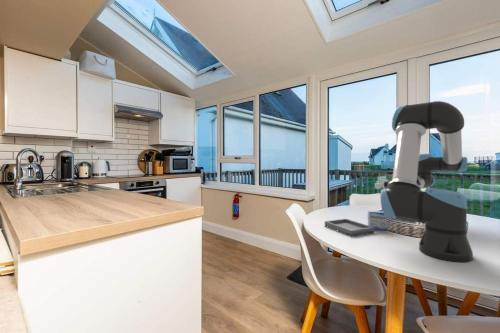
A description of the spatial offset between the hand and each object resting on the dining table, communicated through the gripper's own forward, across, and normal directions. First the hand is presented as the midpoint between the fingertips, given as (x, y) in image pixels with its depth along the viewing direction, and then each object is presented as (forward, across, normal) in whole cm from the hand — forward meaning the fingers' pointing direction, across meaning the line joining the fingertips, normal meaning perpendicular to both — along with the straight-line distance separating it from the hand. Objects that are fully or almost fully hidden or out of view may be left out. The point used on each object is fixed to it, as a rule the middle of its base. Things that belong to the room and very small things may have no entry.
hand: (387, 187), depth 121 cm
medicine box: (+9, 0, -20) cm, 22 cm away
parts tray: (+22, +6, -19) cm, 30 cm away
